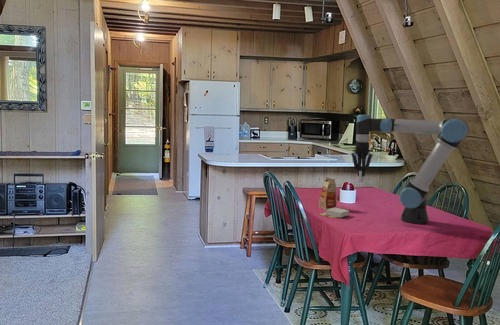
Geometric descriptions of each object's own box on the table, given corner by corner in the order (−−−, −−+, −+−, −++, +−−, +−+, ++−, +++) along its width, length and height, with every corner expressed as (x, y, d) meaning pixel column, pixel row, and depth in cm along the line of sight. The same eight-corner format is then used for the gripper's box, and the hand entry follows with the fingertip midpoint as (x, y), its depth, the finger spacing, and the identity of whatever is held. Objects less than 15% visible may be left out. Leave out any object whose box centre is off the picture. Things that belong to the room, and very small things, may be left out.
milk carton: (325, 209, 299) (327, 178, 296) (317, 206, 307) (319, 175, 305) (337, 209, 302) (340, 177, 300) (330, 206, 311) (332, 175, 308)
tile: (349, 210, 285) (334, 207, 291) (341, 212, 278) (326, 209, 284) (348, 215, 286) (334, 212, 292) (340, 218, 278) (325, 214, 284)
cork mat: (348, 214, 288) (348, 214, 288) (336, 218, 277) (336, 218, 277) (330, 211, 296) (330, 210, 296) (318, 214, 285) (318, 214, 285)
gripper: (375, 141, 276) (374, 182, 279) (355, 140, 284) (353, 180, 287) (370, 142, 271) (368, 183, 273) (349, 141, 279) (347, 181, 281)
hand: (360, 181), depth 280 cm, fingers closed
